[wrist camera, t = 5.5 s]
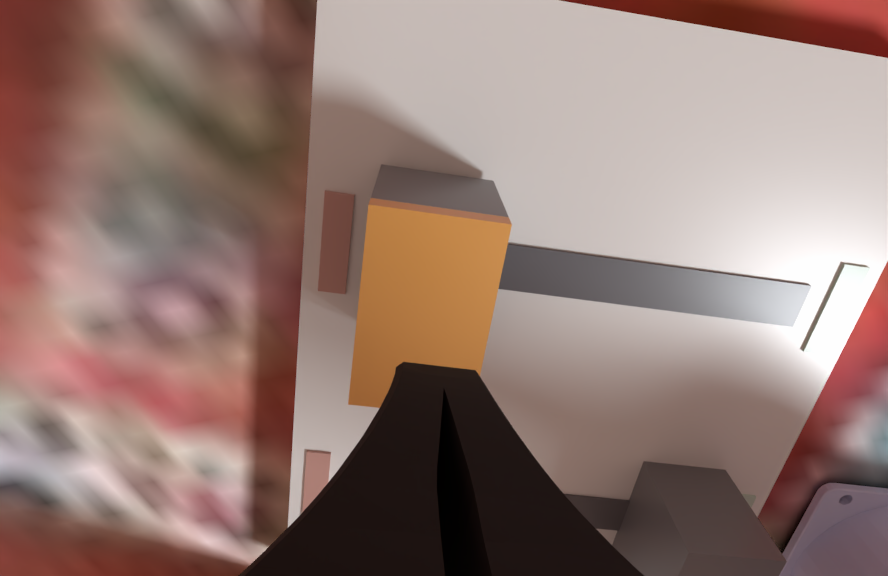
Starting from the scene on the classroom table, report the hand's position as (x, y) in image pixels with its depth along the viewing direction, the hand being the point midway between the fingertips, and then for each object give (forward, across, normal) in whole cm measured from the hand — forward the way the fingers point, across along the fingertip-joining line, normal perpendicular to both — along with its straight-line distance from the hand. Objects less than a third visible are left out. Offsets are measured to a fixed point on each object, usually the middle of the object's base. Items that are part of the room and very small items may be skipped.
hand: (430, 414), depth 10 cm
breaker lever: (+7, 0, 0) cm, 7 cm away
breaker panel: (+9, -5, +4) cm, 11 cm away
